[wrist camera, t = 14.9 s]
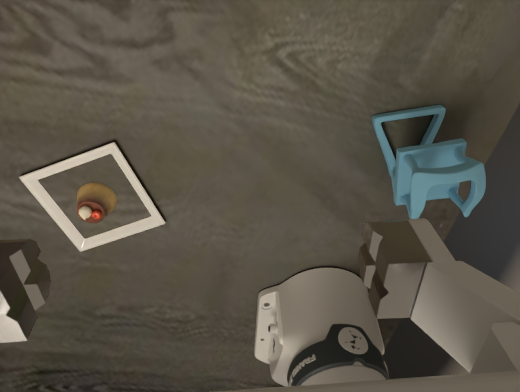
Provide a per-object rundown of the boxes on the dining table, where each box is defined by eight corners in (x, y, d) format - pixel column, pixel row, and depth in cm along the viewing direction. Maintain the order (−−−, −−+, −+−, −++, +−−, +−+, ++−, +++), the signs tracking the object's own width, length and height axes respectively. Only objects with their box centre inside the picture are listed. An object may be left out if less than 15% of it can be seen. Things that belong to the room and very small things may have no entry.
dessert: (167, 218, 51) (161, 243, 47) (82, 246, 53) (71, 272, 49) (116, 137, 45) (105, 158, 41) (22, 172, 47) (3, 196, 43)
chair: (370, 178, 49) (405, 244, 40) (371, 114, 45) (412, 172, 35) (434, 168, 49) (486, 232, 39) (442, 103, 44) (503, 158, 35)
